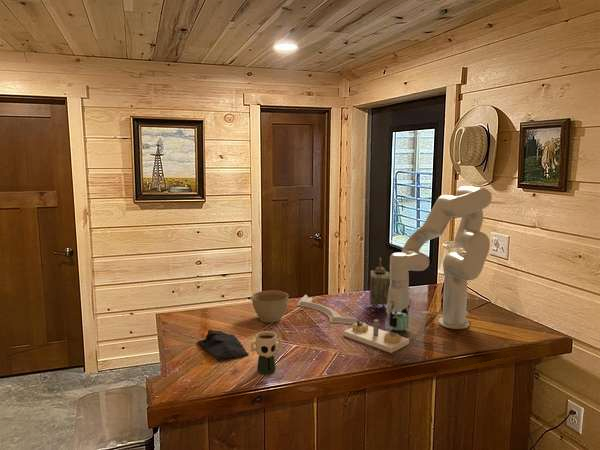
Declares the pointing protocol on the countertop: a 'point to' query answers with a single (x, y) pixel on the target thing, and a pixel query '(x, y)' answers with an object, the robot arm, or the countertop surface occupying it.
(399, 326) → the loose gear
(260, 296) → the planter bowl
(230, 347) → the dark slate chunk
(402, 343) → the gear board
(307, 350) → the countertop surface
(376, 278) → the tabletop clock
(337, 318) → the molding
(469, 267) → the robot arm
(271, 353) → the character mug
